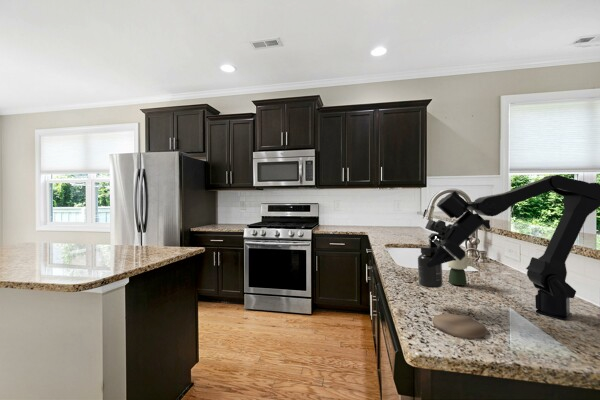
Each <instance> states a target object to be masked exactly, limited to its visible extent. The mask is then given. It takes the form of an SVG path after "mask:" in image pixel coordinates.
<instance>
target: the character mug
mask: <svg viewBox="0 0 600 400" xmlns="http://www.w3.org/2000/svg"><path fill="white" fill-rule="evenodd" d="M464 251H465V250H464ZM468 254H469V253H468V251H465V257H464V258H463V259H462V260H461V261H460V260H458V259H457V258H456V256H455V257H454V258H455V259H456V260H455V261H454V260H453V261H449V262H446V265H447V267H448V268H450V270H449V275H448V283H450V284H451V285H457V286H463V285H467V284H468V283H467V277H466V276H467V275H466V271H465V270H467V268H468V267H473V266H474V258H472V257H469V255H468ZM469 262H470V263H469Z"/></svg>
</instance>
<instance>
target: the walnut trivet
mask: <svg viewBox="0 0 600 400" xmlns="http://www.w3.org/2000/svg"><path fill="white" fill-rule="evenodd" d="M432 325H433V326H434V328H435V329H437V330H438V331H440V332H442V333H444V334H446V335H449V336H452V337H456V338H459V337H461V339H466V338H479V339H482V337H483V338H484V337H486V336H487V328H486V326H485V325H484V324H483V323H481V322H480V321H479V320H476V319H474V318H471V317H468V316H465V315H460V314H455V313H440V314H437V315H435V316H433V318H432ZM485 335H486V336H485Z"/></svg>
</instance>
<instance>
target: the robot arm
mask: <svg viewBox="0 0 600 400" xmlns="http://www.w3.org/2000/svg"><path fill="white" fill-rule="evenodd" d="M549 192H552V193H554V194H556V195H559V196H561V197H563V199H562V203H563V213H562V215H561V216H560V219H559V220H558V221H559V222H558V223H557V225H556V227H555V229H554V232H553V234H552V236H551V237H550V241H549V242H548V244H547V247H546V248H545V251H544V252H543V254H542V255H541V256H540V257H538V258H537V257H531V258H530V261H529V264H528V266H526V268H525V270H527V272H526V276H527V278H528V280H529V281H530V282H532V285H533V286H534V288H535V289H538V290H537V294H535V295H534V296H535V297H534V298H535V302H534V303H535V309H536V310H535V313H537V314H541V315H544V316H547V317H548V316H549V317H551V318H556V319H559V320H562V321H566V320H568V319H569V318H570V317H572V315H573V314H572V312H571V311H570V310H571V309H570V308H571V307H570V306H571V305H570V301H571V299H574V298H575V297H576V293H577V291H576V289H574V288H573V287H572V286H571V285H570V284H569V283H567V282H566V279H567V275H568V270H567V265H566V261H567V259H568V257H569V255H570V253H571V252H572V249H573V247H574V245H575V243H576V241H577V239H578V238H579V237H578V236H579V234H580V233H581V231H582V228H583V226H584V224H585V222H586V220H587V218H588V217H589V215H590V214H592V213H594V212H595V211H596V210H597V209H599V208H600V183H599V182H587V181H583V180H578V179H575V178H570V177H566V176H563V175H559V174H553V175H547V176H544V177H542V178H541V179H538V180H535V181H532V182H529V183H527V184H524V185H521V186H519V187H516V188H514V189H511V190H508V191H505V192H502V193H497V194H491V195H485V196H481V197H478V198H475V200H473V201H466V200H465V199H464V198H462V197H461V195H460V194H459V192H457V191H456V190H455V191H451V192H450V193H449V194H447V195H446V196H444V197H442V198H441V199H440V200H439V201H438V202H437V203H436V207H437V208H438V209H439V210H441V211H442V212H443V213H444V214H445V215H446V216H447V217H449V218H450V219H453V218H454V219H457V220H456V221H454V223H452V224H451V223H449V224H446V221H443V220H442V219H438V220H437V221H435V220H433V219H428V221H427V223H426V225H425V227H424V228H425V229H427V230H429V231H431V233H430V234H429V236H428V244H429V245H428V246H433V247H437V252H436V253H435V254H434V255H433V257H432V258H431V259H430V260H429V262H428V263H427V266H428V267H433V266H436V265H439V264H442V265H443V264H445V263H446V262H449V261H453V260H454V261H455V260H456V259H455V258H454V257H455V256H456V258H457V259H458V260H460V261H461V260H462V259H463V258H464V257H465V249H463V248H462V247H461V245H462V244H463V243H464V242H466V241H467V242H468V241H470V240H471V238H470V237H471V236H472V235H473V234H474V233H476V232H477V230H479V229H480V228H481V227H482V228H483V229H486V230H487V229H488V230H490V229H491V224H490V222H491V221H490V219H485V218H483V217H495V216H498V215H500V214H502V213H503V212H506V211H507V210H508V209H510V208H511V207H512V206H514V205H515V204H519V203H521V202H524V201H526V200H527V201H528V200H529V199H533V198H535V197H538V196H540V195H543V194H546V193H549ZM472 211H473V212H474V213H473V212H472ZM482 216H483V217H482ZM446 264H447V263H446Z"/></svg>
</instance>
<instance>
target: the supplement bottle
mask: <svg viewBox="0 0 600 400" xmlns="http://www.w3.org/2000/svg"><path fill="white" fill-rule="evenodd" d="M436 252H437V247H433V246H429V245H425V246H424V245H423V246H420V253H421V254H420V255H418V256H417V272H418V273H417V274H418V284H419V285H420V286H421V287H425V288H432V289H438V288H441V287H443V284H444V283H443V263H442V264H439V265H436V266H433V267H428V266H427V263H428V262H429V260H430V259H431V258H432V257H433V255H434V254H435V253H436Z"/></svg>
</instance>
